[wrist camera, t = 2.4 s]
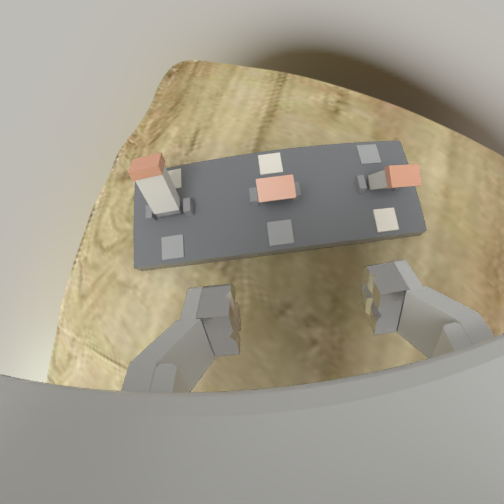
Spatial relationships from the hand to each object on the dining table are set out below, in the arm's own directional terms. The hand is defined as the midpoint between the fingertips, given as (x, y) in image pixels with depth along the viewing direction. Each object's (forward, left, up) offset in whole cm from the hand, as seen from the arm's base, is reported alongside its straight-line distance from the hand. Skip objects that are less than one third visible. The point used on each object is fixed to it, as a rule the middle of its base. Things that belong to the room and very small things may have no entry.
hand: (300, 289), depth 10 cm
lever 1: (+8, +15, -20) cm, 27 cm away
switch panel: (+12, +4, -23) cm, 26 cm away
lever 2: (+15, -8, -20) cm, 27 cm away
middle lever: (+12, +4, -20) cm, 24 cm away
